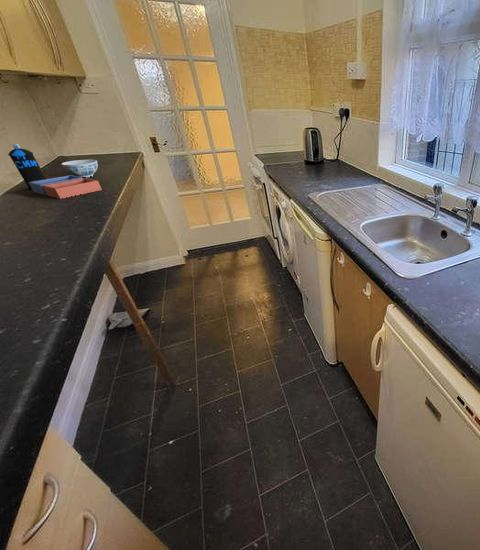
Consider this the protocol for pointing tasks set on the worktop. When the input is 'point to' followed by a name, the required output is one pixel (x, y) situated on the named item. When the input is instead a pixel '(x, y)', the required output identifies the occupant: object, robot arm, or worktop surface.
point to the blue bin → (39, 188)
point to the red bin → (72, 188)
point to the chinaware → (81, 167)
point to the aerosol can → (26, 165)
